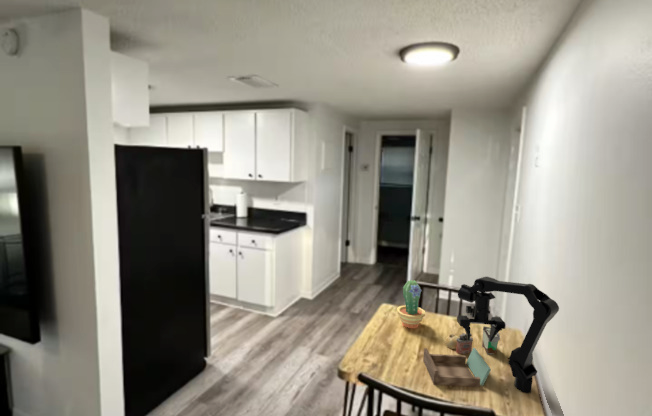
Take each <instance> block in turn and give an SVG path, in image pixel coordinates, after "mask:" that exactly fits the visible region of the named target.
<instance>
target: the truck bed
mask: <svg viewBox="0 0 652 416" xmlns="http://www.w3.org/2000/svg"><path fill="white" fill-rule="evenodd" d="M466 362H467V356H466V355H465V354H441V353H430V352H429V349H428V348H426V347H425V348H423V363H424V365H425V367H426V368H425V369H426V371H427V373H428V375H429V377H430V379H431V382H432V383H433V385H435V386H436V385H437V386H459V387H477V388H479V387H480V386H481V385H480V377H475V376H473V375H474V374H473V373H472V371H471V369H470V368H469V366H468V365H467V363H466Z"/></svg>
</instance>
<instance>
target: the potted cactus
mask: <svg viewBox="0 0 652 416" xmlns="http://www.w3.org/2000/svg"><path fill="white" fill-rule="evenodd" d="M421 292H422V289H421V287H420V285H419V284H418V282H417V281H416V280H415V279H413V280H412V279H410V280H408V281H406V283H405V284H404V285H403V287H402V295H403V298H404V302H405V305H400V306H398V307H397V308H396V311H397V314H398V316H399V317H398V318H399V319H400V321H401V325H402V326H403V327H404V326H405V328H407V327H408V328H407V329H418V328H419V324H421V322H422V321H423V319H424V317H425V316H426V311H425V309H423V308H421V307H419V301H420V300H419V299H420V298H421Z"/></svg>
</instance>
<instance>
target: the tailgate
mask: <svg viewBox="0 0 652 416" xmlns="http://www.w3.org/2000/svg"><path fill="white" fill-rule="evenodd" d="M465 364H466V366H467V367H468V369H469V370H470V372H471V373H472V375H474V376H473V377H480V386H484V384H485V382H486V380H487V379H488V377H489V375H490V372H491V371H492V368H490V366H489V365H488V364H487V362H486V361H485V359H484V358H483V356H482V355H481V353H479V351H478V349H477V348H475V347H472V351H471V352H470V353H469V356H468V358H467V359H466V363H465Z"/></svg>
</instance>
